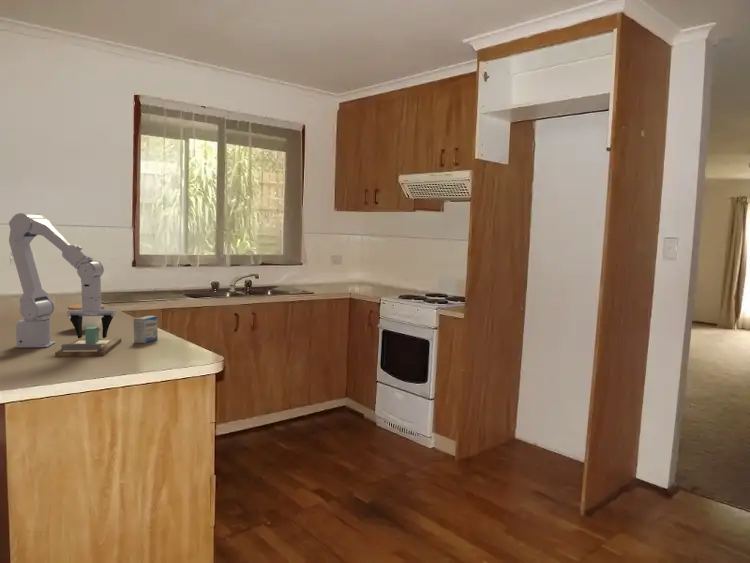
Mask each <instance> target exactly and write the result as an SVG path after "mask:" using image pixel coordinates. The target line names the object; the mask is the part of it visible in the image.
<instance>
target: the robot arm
mask: <svg viewBox="0 0 750 563" xmlns="http://www.w3.org/2000/svg"><path fill="white" fill-rule="evenodd" d="M8 226H9V228H10V231H9V236H8V243H9V248H10V249H11V254H12V257H13V261H14V264H15V267H16V268H15V269H16V271H17V274H18V278H19V283H20V286H21V288H22V292H23V293H22V295H21V296H20V298H19V304H20V306H19V313H20V315H21V317H22V318H23V319H19V320H18V321H17V323H16V328H15V331H16V332H15V333H16V336H15V337H16V346H15V348H19V349H20V348H48V347H50V346H51V345H54V344H55V343H56V341H54V340H52V336H51V333H52V332H51V317H52V316H51V315H52V314H53V312H54V311H55V303H54V302H53V300H52V299H51V298H50V296H49V293H48V292H46V290H44V289H43V288H42V284H41V280H40V277H39V273H38V269H37V265H36V262H35V259H34V255H33V251H32V248H31V242H32V241H33V240H34V238H35V237H37V236H42V237H44V238H45V239H47V240H48V241H49V243H52V244H53V245H54V246H55V247H56V248H57V249H58V250H60V251H61V254H62V255H61V256H62V258H63V259H64V260H66V262H68V263H69V264H70V265H71V266H72V267H73V268H75V270H76V273H77V275H78V277H79V278H80V283H81V304H82V310H68V309H67V311H66V313H67V315H66V316H67V318H69V317H71V318H70V319H69V322H70V321H71V322H72V324H73V325H72V324H71V325H72V327H74V330H75V332H76V335H77V339H82V338H83V330H82V318H83V316H104V317H102V318H101V320H102V322H101V325H102V327H101V328H102V335H101V336H102V339H104V338H107V336H108V335H107V334H108V330H109V328H110V325H111V323H112V321H113V318H114V317H116V316H117V314H116V309H105V308H104V309H101V304H102V289H101V288H102V284H101V283H102V282H101V280H102V279H101V276H102V275H103V274H104V271H105V270H104V269H105V268H104V266H103V264H102V263H101V262H100V261H98V260H94V258H93V257H92V256H90V255H88V254H87V253H86V252H85V251H84V250H83V247H82V246H81V245H77V244H71V243H69V241H68V240H67V239H66V238H65V237H64V236H63V235H62V234H61V233H60V232H59V231H58V230H57V229H56V228H55V227H54V226H53V225H52V223H51V221H50V220H48V219H47V218H46V217H45V216H44V215H42V214H40V213H22V212H19V213H16V214H15V215H13V216H12V218H11V219H10V220H9V221H8ZM71 322H70V323H71Z"/></svg>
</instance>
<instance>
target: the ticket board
mask: <svg viewBox="0 0 750 563" xmlns="http://www.w3.org/2000/svg"><path fill="white" fill-rule="evenodd" d="M99 340H111V342H109V343H108V344H107V345H105V346H104V347H103V348H101V349H100V350H99V351H95V352H63V350H62V348H60V349H59V350H58V351H55V353H54V355H55V357H104V356H105V355H107V354H108V353H109V352H110V351H112V350H113V349H114V348H115V347H116V346H118V345H119V344H120V343H122V337H121V338H118V337H116V338H115V337H114V338H112V337H111V338H107V337H106V338H99ZM78 341H86V340H85V338H77V339H75V341H72V342H71V343H70V344H75V343H76V342H78Z"/></svg>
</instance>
